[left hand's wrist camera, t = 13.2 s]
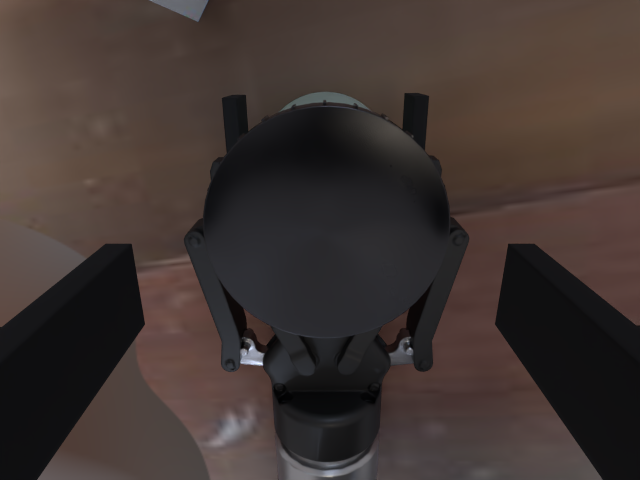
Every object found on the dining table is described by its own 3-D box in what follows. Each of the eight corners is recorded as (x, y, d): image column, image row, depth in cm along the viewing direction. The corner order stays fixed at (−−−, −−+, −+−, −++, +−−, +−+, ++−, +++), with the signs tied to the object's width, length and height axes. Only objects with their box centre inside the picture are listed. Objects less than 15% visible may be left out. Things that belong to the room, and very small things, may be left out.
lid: (378, 50, 16) (384, 49, 14) (475, 262, 19) (489, 279, 17) (165, 174, 18) (150, 184, 16) (285, 349, 21) (282, 373, 19)
